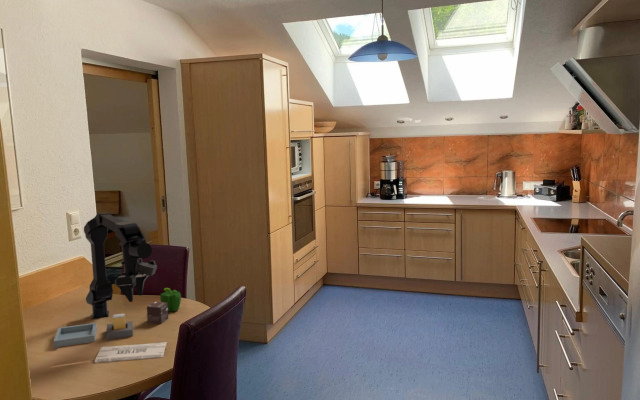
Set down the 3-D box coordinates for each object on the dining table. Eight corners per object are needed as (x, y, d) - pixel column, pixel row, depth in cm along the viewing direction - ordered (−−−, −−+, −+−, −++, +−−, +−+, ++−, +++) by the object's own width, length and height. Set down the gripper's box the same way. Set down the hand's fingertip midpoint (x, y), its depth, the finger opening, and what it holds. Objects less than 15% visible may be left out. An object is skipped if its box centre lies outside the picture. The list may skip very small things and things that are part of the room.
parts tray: (59, 334, 187) (58, 327, 187) (96, 329, 192) (96, 322, 191) (54, 348, 175) (53, 341, 175) (94, 342, 180) (94, 335, 179)
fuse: (114, 332, 188) (113, 314, 187) (125, 331, 189) (124, 313, 188) (114, 335, 185) (113, 317, 184) (125, 334, 186) (124, 316, 185)
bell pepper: (182, 306, 217) (181, 283, 216) (181, 312, 209) (179, 289, 208) (162, 307, 216) (160, 285, 214) (160, 314, 208) (158, 291, 206)
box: (161, 325, 196) (160, 307, 195) (147, 324, 197) (146, 306, 196) (168, 319, 202) (167, 302, 201) (155, 318, 203) (154, 301, 202)
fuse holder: (107, 332, 190) (107, 324, 189) (132, 328, 193) (132, 321, 192) (106, 341, 181) (106, 333, 181) (133, 337, 184) (132, 329, 184)
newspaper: (168, 344, 180) (167, 337, 179) (163, 362, 168) (163, 355, 167) (101, 348, 176) (100, 342, 175) (92, 368, 164) (91, 361, 164)
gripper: (143, 260, 175) (148, 303, 176) (160, 251, 194) (165, 290, 195) (112, 262, 175) (117, 306, 176) (132, 253, 194) (137, 292, 195)
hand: (136, 298), depth 186 cm, fingers open, 9 cm apart
